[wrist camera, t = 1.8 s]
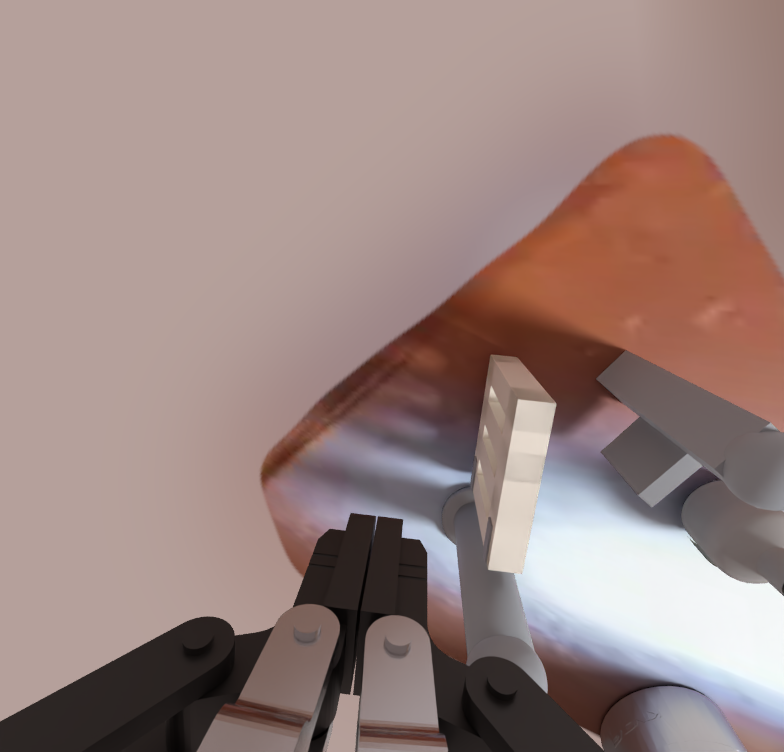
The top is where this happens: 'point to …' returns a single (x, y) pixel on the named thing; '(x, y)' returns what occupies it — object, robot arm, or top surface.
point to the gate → (510, 460)
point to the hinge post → (488, 595)
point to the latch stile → (690, 437)
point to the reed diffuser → (736, 535)
